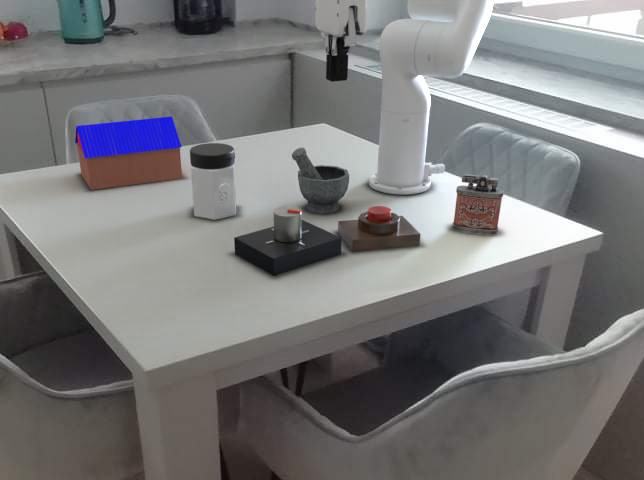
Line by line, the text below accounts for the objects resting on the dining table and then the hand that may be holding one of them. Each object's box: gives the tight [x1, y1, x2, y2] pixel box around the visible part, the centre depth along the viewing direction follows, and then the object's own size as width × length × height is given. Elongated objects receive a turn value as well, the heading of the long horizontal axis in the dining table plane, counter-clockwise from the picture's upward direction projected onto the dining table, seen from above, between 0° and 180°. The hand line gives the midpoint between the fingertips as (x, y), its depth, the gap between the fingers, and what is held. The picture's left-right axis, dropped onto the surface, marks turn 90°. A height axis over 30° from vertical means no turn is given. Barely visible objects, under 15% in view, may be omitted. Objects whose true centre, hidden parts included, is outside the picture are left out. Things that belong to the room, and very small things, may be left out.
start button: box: [367, 205, 392, 222], centre depth 129 cm, size 4×4×2 cm
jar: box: [189, 142, 237, 221], centre depth 140 cm, size 9×8×12 cm
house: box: [74, 116, 183, 191], centre depth 159 cm, size 12×20×12 cm, turn 113°
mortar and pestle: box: [291, 147, 350, 215], centre depth 141 cm, size 11×9×12 cm
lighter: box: [451, 173, 505, 236], centre depth 132 cm, size 8×3×10 cm, turn 71°
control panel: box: [233, 219, 343, 277], centre depth 125 cm, size 14×11×3 cm
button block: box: [337, 210, 421, 253], centre depth 130 cm, size 12×9×4 cm
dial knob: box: [273, 205, 303, 242], centre depth 123 cm, size 5×5×5 cm
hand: (336, 79), depth 125 cm, fingers closed
